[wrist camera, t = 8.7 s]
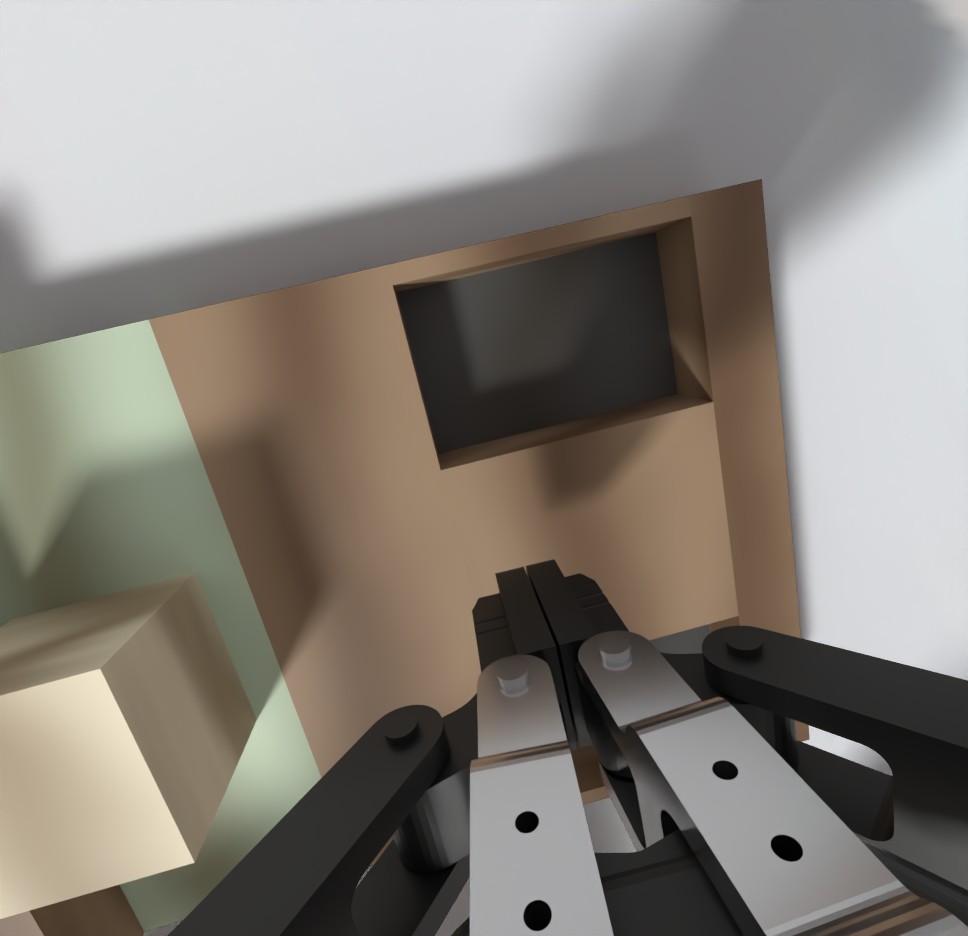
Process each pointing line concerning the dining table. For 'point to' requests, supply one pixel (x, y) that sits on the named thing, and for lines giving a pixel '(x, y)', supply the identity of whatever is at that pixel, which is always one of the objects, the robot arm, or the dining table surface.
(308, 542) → the board
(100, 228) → the dining table surface
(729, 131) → the dining table surface
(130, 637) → the block
